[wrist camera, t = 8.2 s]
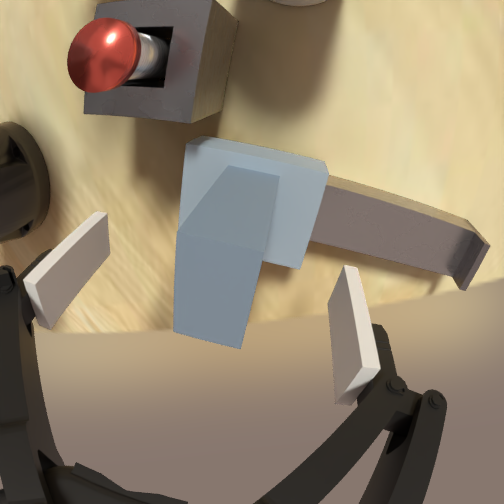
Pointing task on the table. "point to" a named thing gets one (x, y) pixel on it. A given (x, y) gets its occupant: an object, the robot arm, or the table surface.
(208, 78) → the grey cube box
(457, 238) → the rail
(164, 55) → the plunger
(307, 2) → the mug
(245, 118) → the table surface
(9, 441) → the robot arm
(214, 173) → the carriage
